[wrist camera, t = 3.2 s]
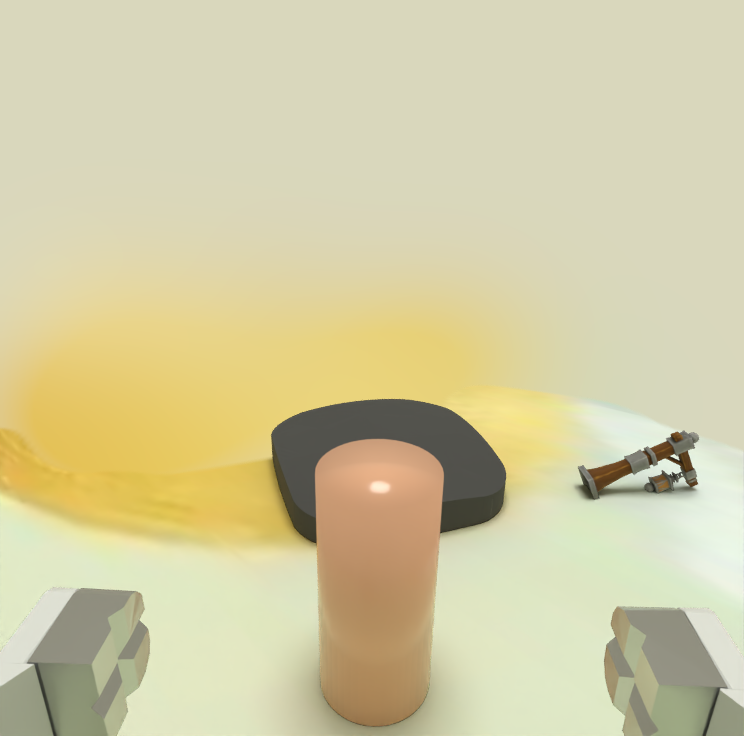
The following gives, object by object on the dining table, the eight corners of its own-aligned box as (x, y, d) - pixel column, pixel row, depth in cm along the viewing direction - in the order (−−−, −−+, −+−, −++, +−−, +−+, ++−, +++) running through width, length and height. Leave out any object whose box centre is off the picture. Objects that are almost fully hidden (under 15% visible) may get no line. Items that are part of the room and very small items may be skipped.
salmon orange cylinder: (298, 672, 28) (288, 467, 24) (376, 617, 31) (381, 427, 27) (372, 750, 25) (376, 527, 21) (452, 679, 28) (470, 473, 24)
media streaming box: (302, 565, 35) (300, 522, 34) (264, 443, 48) (262, 409, 47) (525, 521, 40) (530, 481, 38) (436, 419, 52) (438, 387, 51)
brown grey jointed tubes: (715, 485, 42) (703, 432, 40) (603, 528, 42) (587, 478, 41) (700, 470, 43) (688, 419, 41) (593, 512, 44) (576, 463, 42)
